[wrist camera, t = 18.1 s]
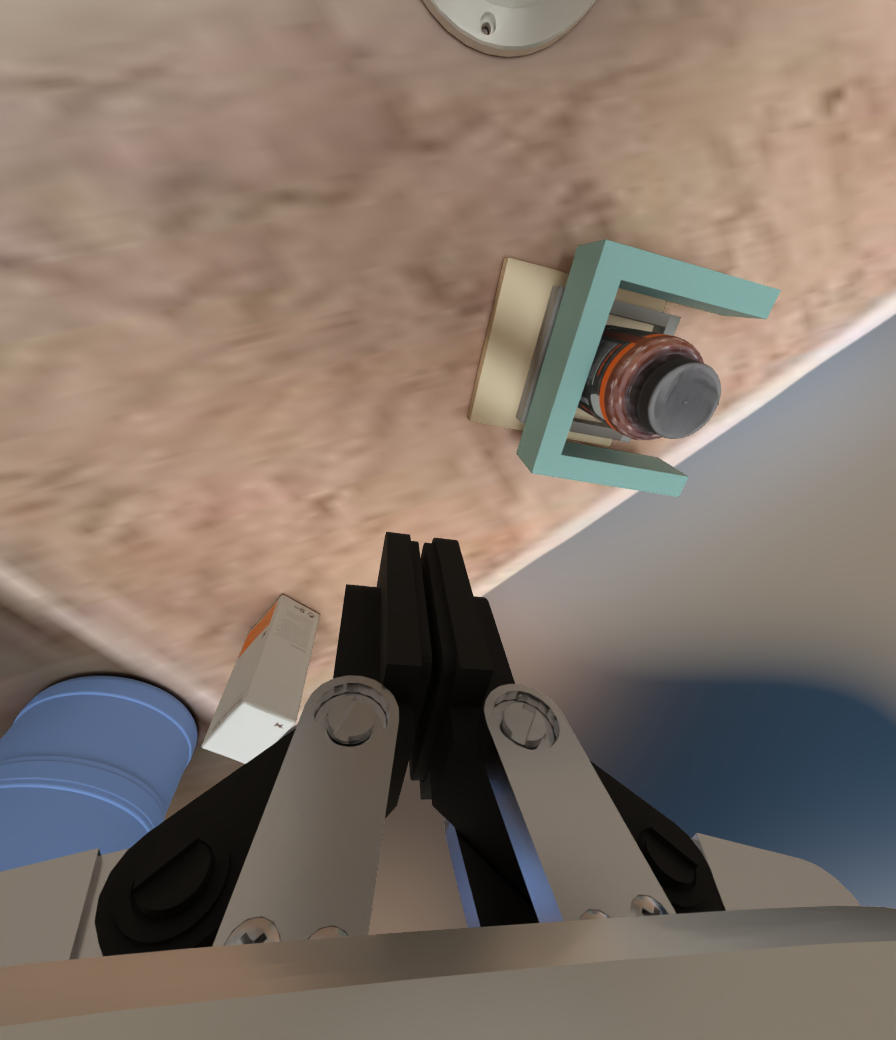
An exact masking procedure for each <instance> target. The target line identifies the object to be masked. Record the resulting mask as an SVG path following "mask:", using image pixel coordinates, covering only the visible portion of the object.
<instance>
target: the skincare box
mask: <svg viewBox="0 0 896 1040" xmlns="http://www.w3.org/2000/svg"><path fill="white" fill-rule="evenodd" d="M319 616H320V615H319V614H318V613H316V612H314V611H312V610H311V609H309V608H307V607H305V606H303V605H301V604H299V603H298V602H296V601H294V600H292V599H291V598H289V597H287V596H285V595H281V596H280V598H279V599H278V600H277V601H276V602H275V604H274V605H273V606H272V607H271V608H270V609H269V611H268V612H267V613H266V614H265V615H264V616H263V617H262V618H261V619H260V621H259V622H258V623H257V624H256V625H255V626H254V627H253V628H252V629H251V630H250V631H249V633H248V635H247V637H246V640H245V642H244V644H243V647H242V649H241V652H240V654H239V656H238V659H237V661H236V664H235V666H234V669H233V671H232V673H231V676H230V678H229V680H228V683H227V685H226V688H225V690H224V693H223V695H222V697H221V700H220V702H219V705H218V707H217V710H216V712H215V715H214V717H213V719H212V722H211V724H210V727H209V729H208V731H207V734H206V736H205V739H204V741H203V744H202V748H204V749H207V750H209V751H212V752H215V753H218V754H221V755H223V756H226V757H229V758H231V759H234V760H237V761H239V762H242V763H245V764H246V763H247V762H249V761H250V760H252V759H253V758H255V757H256V756H257V755H259V754H260V753H262V752H263V751H264V750H266V749H267V748H269V747H270V746H272V745H273V744H274V743H276V742H277V741H278V740H279V739H280V738H281V737H282V736H283V735H284V734H285V733H286V732H287V731H288V730H289V729H290V728H291V727H292V726H293V725H294V724H295V723H296V720H297V715H298V711H299V707H300V702H301V698H302V693H303V688H304V684H305V679H306V675H307V670H308V666H309V661H310V657H311V652H312V648H313V643H314V639H315V635H316V630H317V625H318V621H319Z"/></svg>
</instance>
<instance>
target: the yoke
mask: <svg viewBox="0 0 896 1040" xmlns="http://www.w3.org/2000/svg"><path fill="white" fill-rule="evenodd" d="M618 288H621V289H625V290H628V291H632V292H636V293H640V294H643V295H647V296H651V297H655V298H658V299H662V300H666V301H670V302H674V303H677V304H681V305H685V306H689V307H692V308H696V309H700V310H704V311H707V312H711V313H715V314H719V315H723V316H734V317H746V318H758V319H767V317H768V315H769V313H770V311H771V309H772V307H773V305H774V303H775V301H776V299H777V297H778V295H779V293H780V291H781V290H778V289H775V288H772V287H768V286H765V285H761V284H758V283H754V282H751V281H747V280H744V279H741V278H737V277H734V276H730V275H727V274H723V273H720V272H716V271H713V270H710V269H706V268H703V267H699V266H696V265H692V264H689V263H685V262H682V261H678V260H675V259H672V258H668V257H665V256H661V255H658V254H654V253H651V252H647V251H644V250H641V249H637V248H634V247H630V246H627V245H623V244H620V243H616V242H613V241H610V240H602V241H597V242H592V243H588V244H583V245H579V246H577V249H576V253H575V256H574V260H573V263H572V266H571V270H570V273H569V277H568V280H567V283H566V287H565V290H564V293H563V297H562V300H561V304H560V307H559V310H558V314H557V317H556V321H555V324H554V327H553V331H552V334H551V338H550V341H549V344H548V348H547V351H546V355H545V358H544V361H543V365H542V368H541V372H540V375H539V378H538V382H537V385H536V389H535V392H534V395H533V399H532V402H531V406H530V409H529V412H528V416H527V419H526V423H525V426H524V429H523V433H522V436H521V440H520V443H519V446H518V450H517V453H516V454H517V455H518V456H519V458H520V459H521V460H522V461H523V463H524V464H525V465H526V467H527V468H528V469H529V470H530V472H531V473H533V474H539V475H545V476H551V477H558V478H564V479H570V480H576V481H583V482H589V483H595V484H601V485H608V486H614V487H620V488H626V489H633V490H639V491H645V492H651V493H658V494H664V495H670V496H676V497H679V495H680V493H681V491H682V489H683V487H684V485H685V483H686V481H687V479H688V476H686V475H685V474H683V473H682V472H680V471H678V470H677V469H675V468H674V467H672V466H671V465H669V464H667V463H666V462H664V461H663V460H661V459H659V458H657V457H652V456H646V455H640V454H635V453H629V452H624V451H618V450H613V449H607V448H601V447H596V446H590V445H585V444H579V443H574V442H568V441H566V439H567V436H568V433H569V430H570V427H571V424H572V421H573V418H574V415H575V413H576V410H577V407H578V404H579V401H580V398H581V395H582V392H583V389H584V386H585V383H586V380H587V378H588V375H589V372H590V369H591V366H592V363H593V360H594V357H595V354H596V351H597V348H598V346H599V343H600V340H601V337H602V334H603V331H604V328H605V325H606V322H607V319H608V316H609V313H610V311H611V308H612V305H613V302H614V299H615V296H616V293H617V290H618Z"/></svg>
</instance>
